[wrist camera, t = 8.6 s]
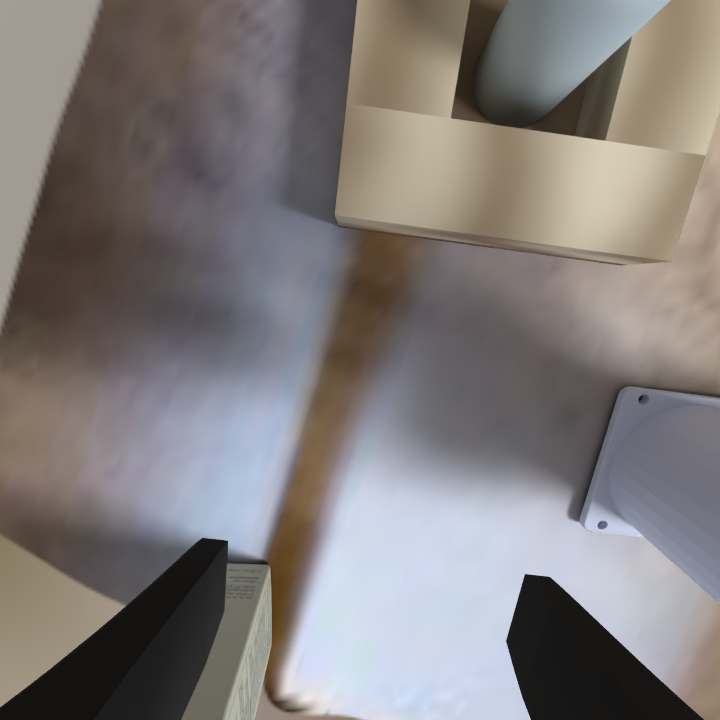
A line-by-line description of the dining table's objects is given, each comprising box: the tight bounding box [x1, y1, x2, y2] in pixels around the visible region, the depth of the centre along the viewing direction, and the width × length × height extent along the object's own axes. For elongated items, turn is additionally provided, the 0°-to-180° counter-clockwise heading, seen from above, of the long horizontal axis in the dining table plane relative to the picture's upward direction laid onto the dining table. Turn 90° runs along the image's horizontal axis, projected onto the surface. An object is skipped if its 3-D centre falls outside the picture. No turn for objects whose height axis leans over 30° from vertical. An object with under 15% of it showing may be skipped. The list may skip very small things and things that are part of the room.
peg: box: [473, 0, 671, 129], centre depth 11 cm, size 4×4×6 cm
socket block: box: [335, 0, 720, 265], centre depth 13 cm, size 13×13×3 cm
